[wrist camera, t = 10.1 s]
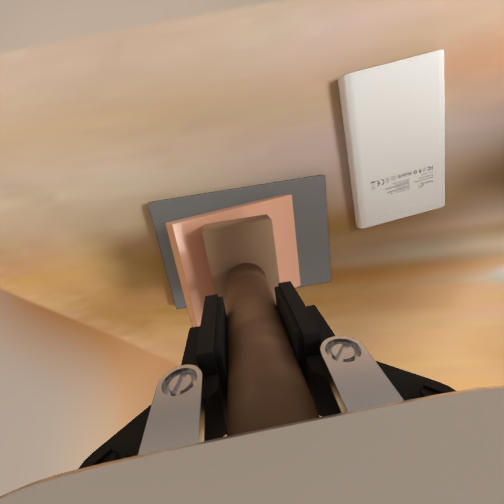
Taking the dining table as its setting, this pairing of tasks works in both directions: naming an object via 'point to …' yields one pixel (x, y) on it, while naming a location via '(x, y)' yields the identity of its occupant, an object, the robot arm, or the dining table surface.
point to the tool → (255, 328)
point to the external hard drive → (395, 138)
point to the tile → (195, 257)
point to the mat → (303, 197)
